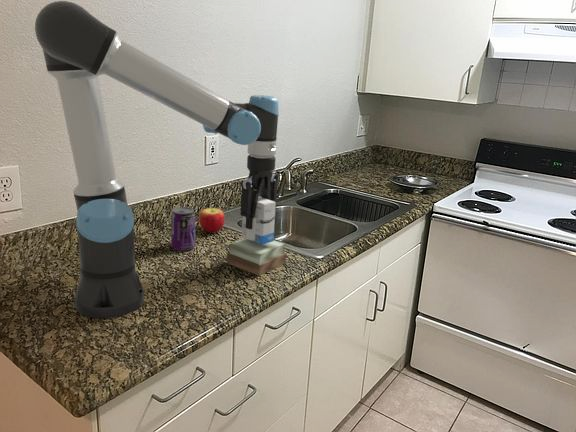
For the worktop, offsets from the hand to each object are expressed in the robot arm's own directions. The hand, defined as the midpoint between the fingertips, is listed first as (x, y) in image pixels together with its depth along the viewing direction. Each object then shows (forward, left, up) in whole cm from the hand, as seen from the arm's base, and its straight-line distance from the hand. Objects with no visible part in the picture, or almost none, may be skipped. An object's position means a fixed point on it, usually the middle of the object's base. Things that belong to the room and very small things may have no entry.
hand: (257, 236), depth 136 cm
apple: (+9, +27, -8) cm, 30 cm away
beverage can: (-7, +23, -8) cm, 25 cm away
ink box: (0, 0, -1) cm, 1 cm away
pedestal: (0, 0, -8) cm, 8 cm away
